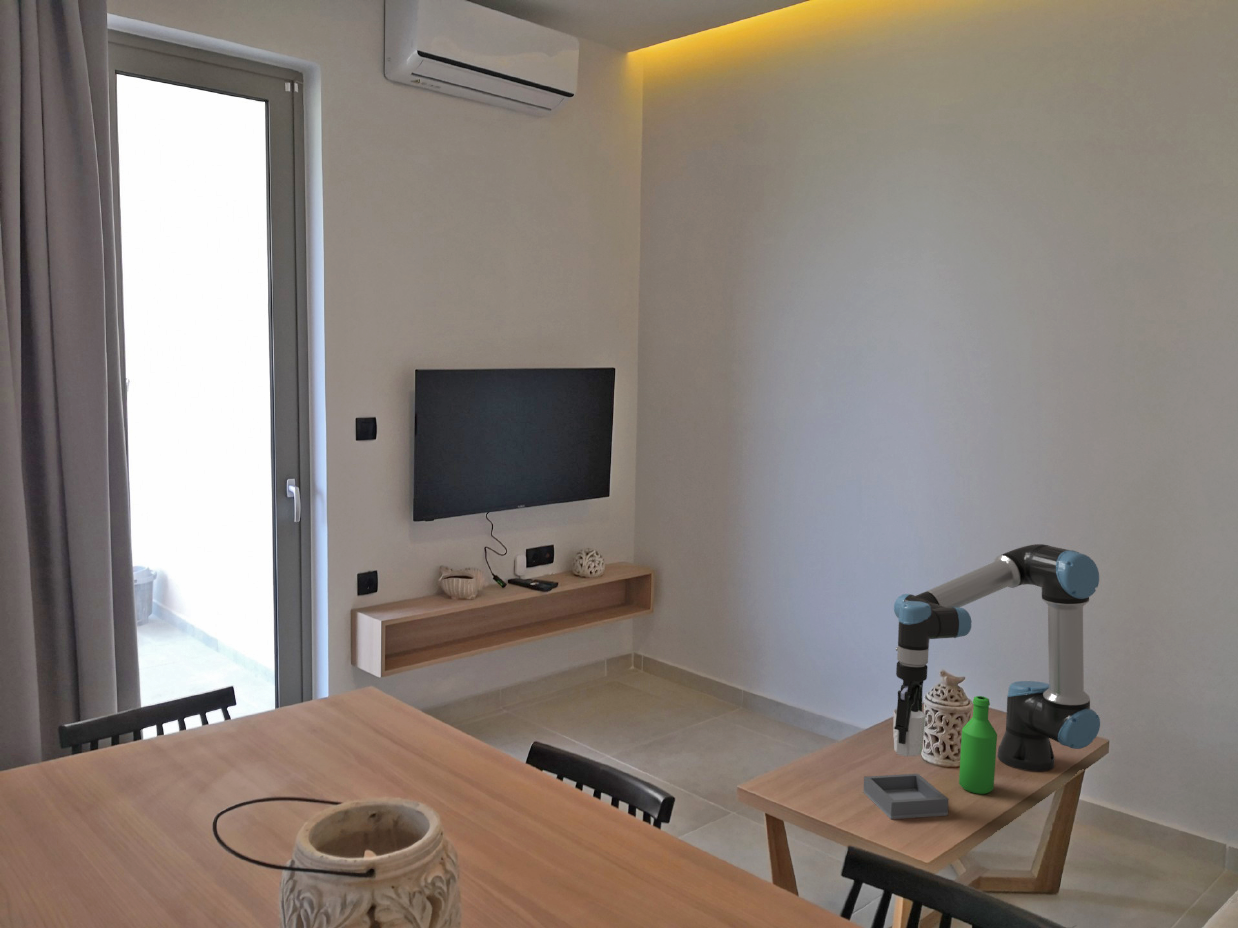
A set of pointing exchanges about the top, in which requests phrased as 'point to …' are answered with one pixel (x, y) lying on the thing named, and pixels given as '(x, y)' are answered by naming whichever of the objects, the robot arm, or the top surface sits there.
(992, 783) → the bottle
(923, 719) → the white cup
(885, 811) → the gray tray
